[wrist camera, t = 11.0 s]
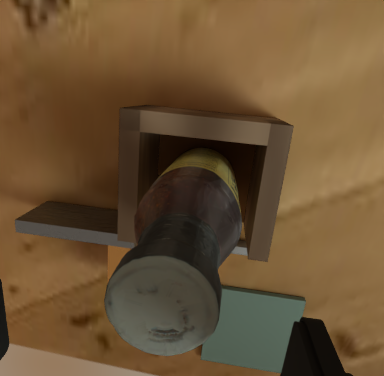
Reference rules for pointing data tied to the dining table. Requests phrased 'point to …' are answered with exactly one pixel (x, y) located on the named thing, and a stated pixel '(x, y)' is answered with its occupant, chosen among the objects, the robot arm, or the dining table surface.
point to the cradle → (214, 130)
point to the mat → (253, 329)
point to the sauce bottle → (177, 256)
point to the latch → (77, 227)
